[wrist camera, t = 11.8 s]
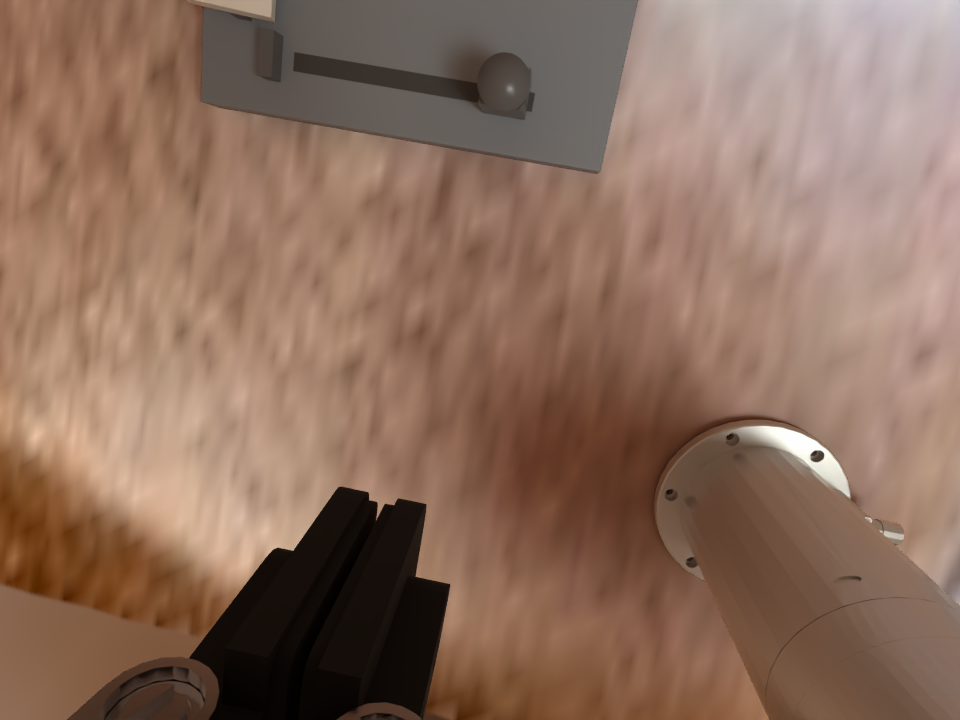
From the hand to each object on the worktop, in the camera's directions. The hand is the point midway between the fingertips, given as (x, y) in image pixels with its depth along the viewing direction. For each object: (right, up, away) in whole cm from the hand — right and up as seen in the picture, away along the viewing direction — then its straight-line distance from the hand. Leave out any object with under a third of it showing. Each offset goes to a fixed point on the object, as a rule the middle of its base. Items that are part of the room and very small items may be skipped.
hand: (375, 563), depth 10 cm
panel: (-2, +24, +22) cm, 32 cm away
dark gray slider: (+4, +19, +21) cm, 28 cm away
